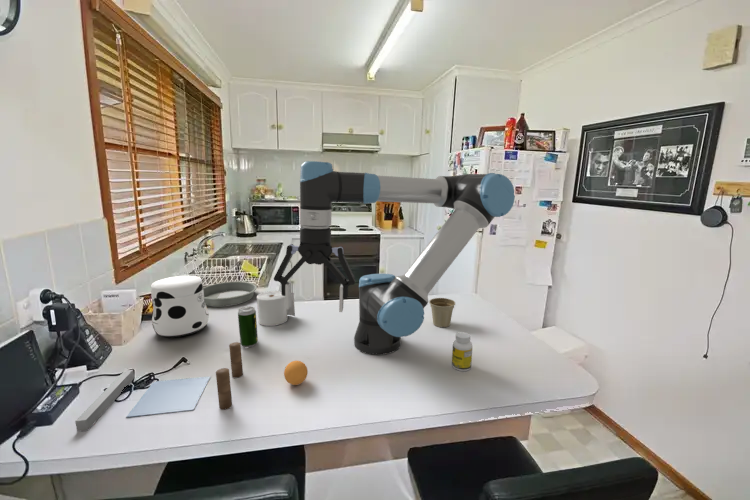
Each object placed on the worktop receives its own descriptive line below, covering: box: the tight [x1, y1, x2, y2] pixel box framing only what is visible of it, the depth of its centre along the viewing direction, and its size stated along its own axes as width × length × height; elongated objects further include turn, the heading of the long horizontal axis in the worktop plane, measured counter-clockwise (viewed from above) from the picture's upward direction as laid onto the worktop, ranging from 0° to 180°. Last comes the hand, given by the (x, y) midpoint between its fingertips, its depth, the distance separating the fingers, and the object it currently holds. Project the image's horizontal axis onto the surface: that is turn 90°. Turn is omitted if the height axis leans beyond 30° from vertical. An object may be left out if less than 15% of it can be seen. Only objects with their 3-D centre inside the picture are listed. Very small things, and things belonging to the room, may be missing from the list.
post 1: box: [215, 367, 233, 411], centre depth 80 cm, size 3×3×9 cm
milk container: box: [150, 275, 210, 338], centre depth 120 cm, size 17×17×18 cm
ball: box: [283, 360, 309, 386], centre depth 90 cm, size 6×6×6 cm
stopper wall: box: [74, 369, 135, 432], centre depth 83 cm, size 2×20×2 cm, turn 10°
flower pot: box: [428, 297, 456, 328], centre depth 126 cm, size 9×9×9 cm
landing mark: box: [125, 376, 211, 418], centre depth 85 cm, size 14×14×1 cm
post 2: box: [228, 341, 244, 379], centre depth 93 cm, size 3×3×9 cm
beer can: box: [237, 305, 259, 348], centre depth 111 cm, size 5×5×12 cm
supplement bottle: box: [451, 331, 473, 372], centre depth 97 cm, size 5×5×10 cm
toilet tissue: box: [256, 290, 296, 327], centre depth 130 cm, size 11×12×10 cm
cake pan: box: [203, 281, 257, 308], centre depth 155 cm, size 25×25×4 cm
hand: (314, 309), depth 88 cm, fingers open, 13 cm apart
